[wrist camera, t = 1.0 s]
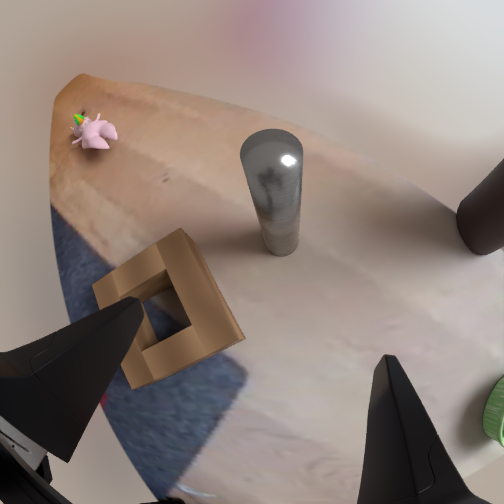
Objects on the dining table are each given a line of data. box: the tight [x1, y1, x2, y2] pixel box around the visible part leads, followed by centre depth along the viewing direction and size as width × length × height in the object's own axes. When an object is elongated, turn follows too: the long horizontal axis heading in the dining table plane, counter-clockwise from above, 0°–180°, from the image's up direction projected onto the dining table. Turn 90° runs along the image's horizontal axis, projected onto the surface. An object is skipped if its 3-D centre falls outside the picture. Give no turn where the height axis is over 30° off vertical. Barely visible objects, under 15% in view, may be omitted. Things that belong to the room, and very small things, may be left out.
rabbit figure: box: [70, 114, 117, 149], centre depth 30 cm, size 6×6×15 cm
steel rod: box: [240, 129, 303, 256], centre depth 18 cm, size 3×3×13 cm
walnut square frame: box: [92, 228, 245, 390], centre depth 22 cm, size 10×10×4 cm
